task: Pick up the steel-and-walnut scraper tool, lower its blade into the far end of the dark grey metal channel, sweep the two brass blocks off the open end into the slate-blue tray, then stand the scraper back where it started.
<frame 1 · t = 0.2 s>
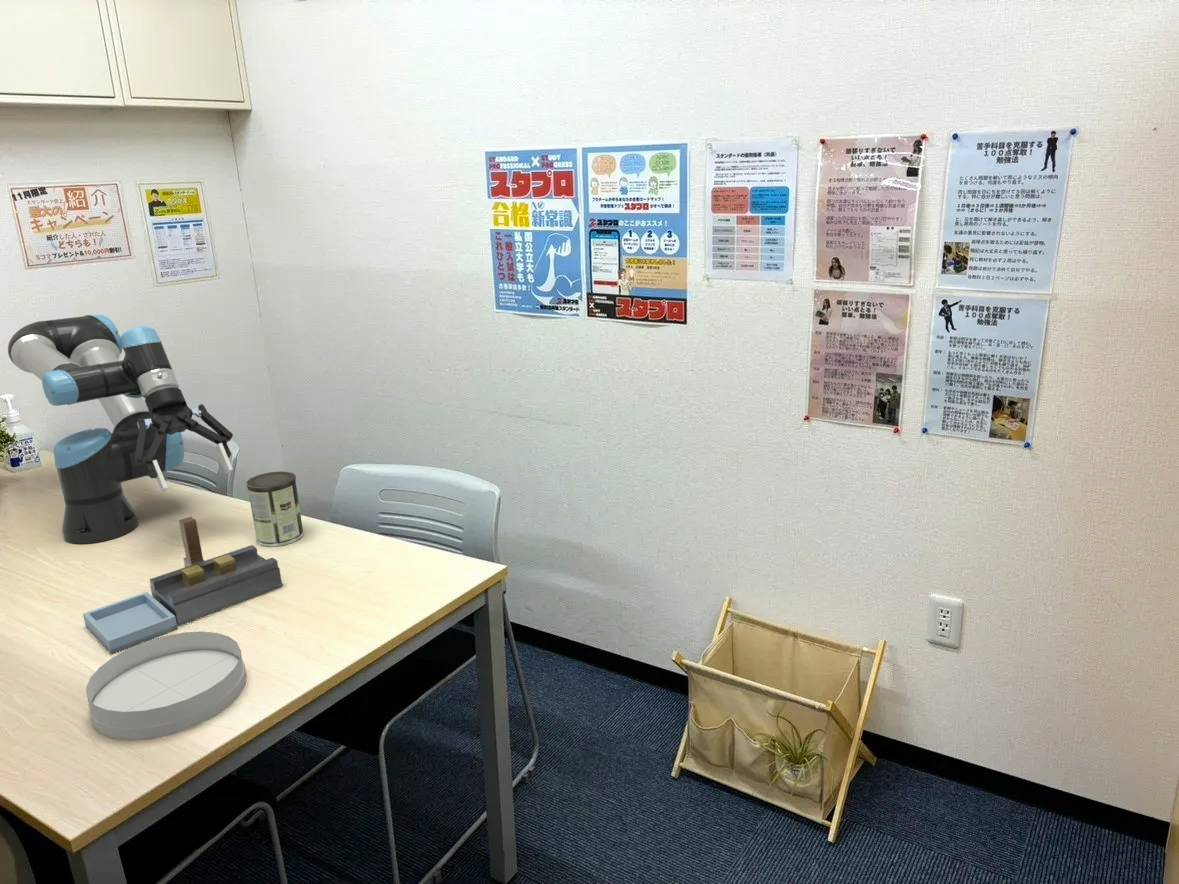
hand: (198, 480, 176), 16 cm above the table, fingers open, 13 cm apart
dish: (172, 696, 129), on the table
chip b: (226, 573, 160), point 4 cm above the table, touching slot bed
tray: (131, 627, 149), on the table
slot bed: (219, 595, 160), on the table
chip a: (194, 584, 156), point 4 cm above the table, touching slot bed
coffee can: (280, 538, 185), on the table
scraper: (197, 573, 169), on the table
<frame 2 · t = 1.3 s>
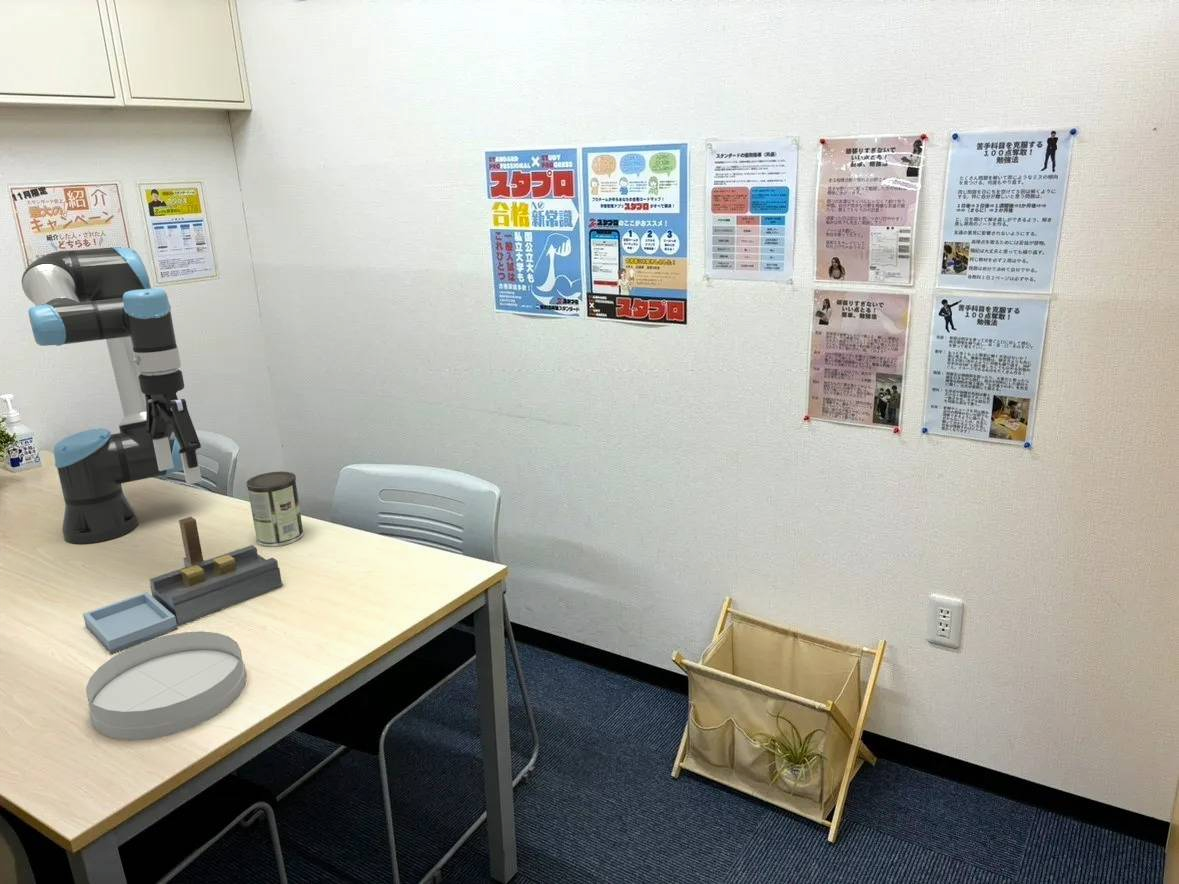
hand: (180, 475, 163), 21 cm above the table, fingers open, 13 cm apart
nothing on the table moved.
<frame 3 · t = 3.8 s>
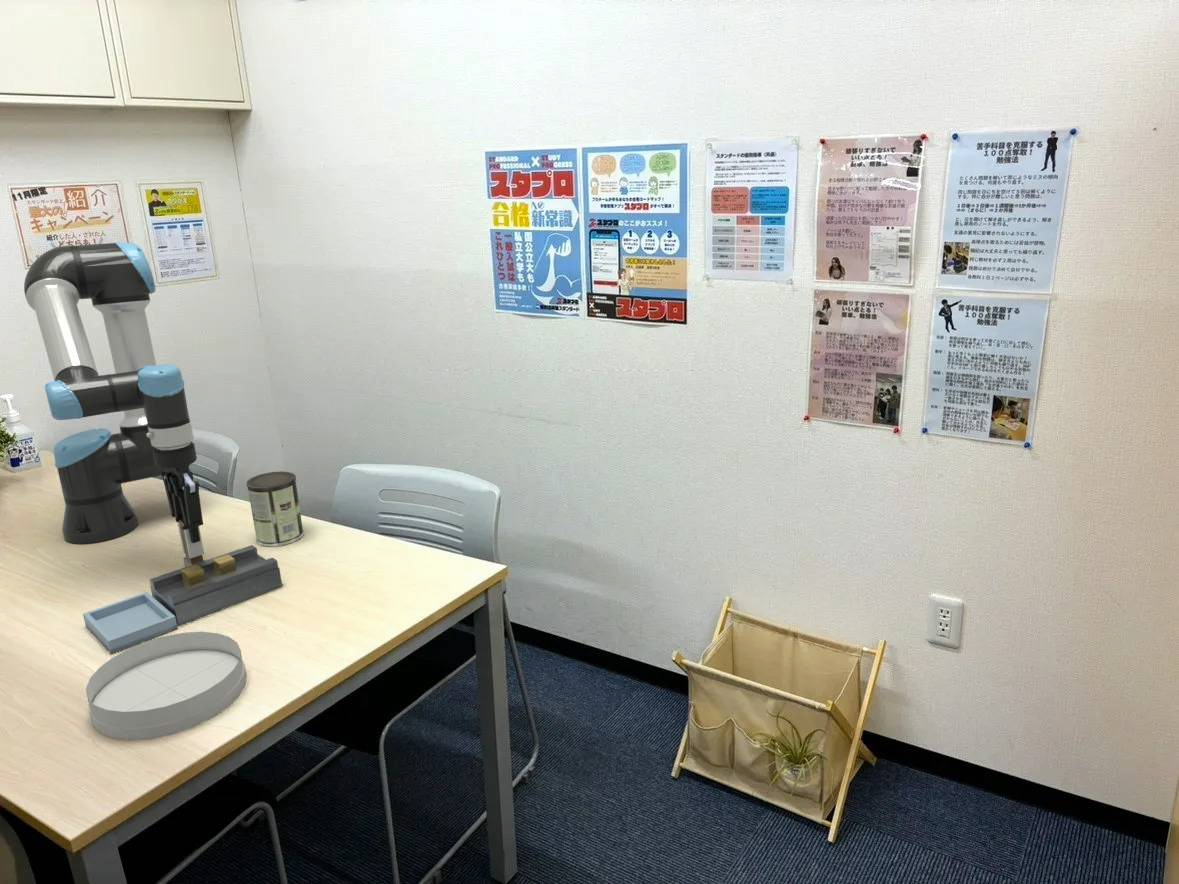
hand: (193, 553, 167), 5 cm above the table, fingers closed on scraper, 2 cm apart
scraper: (197, 573, 169), on the table, touching gripper
everything else where it was.
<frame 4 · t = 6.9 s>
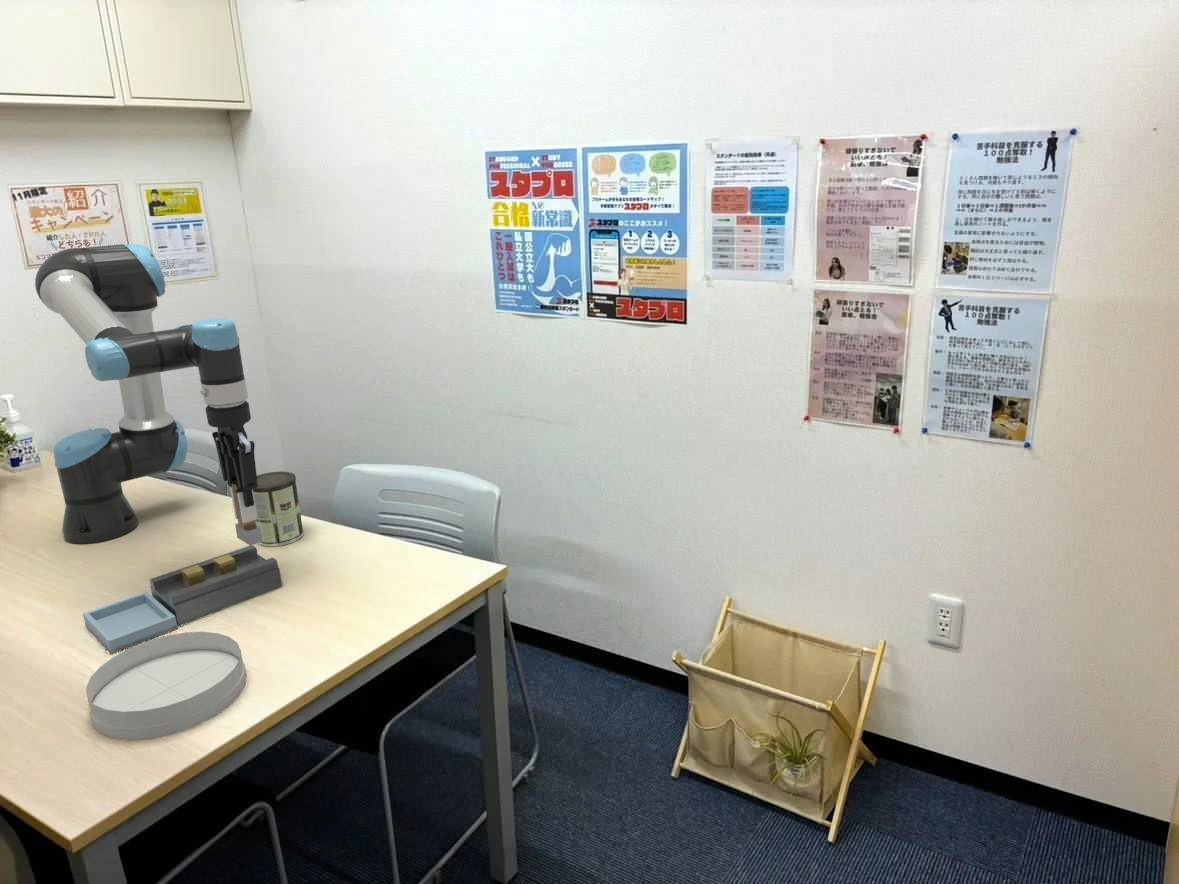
hand: (246, 518, 160), 14 cm above the table, fingers closed on scraper, 2 cm apart
scraper: (249, 539, 162), point 9 cm above the table, touching gripper
everything else where it was.
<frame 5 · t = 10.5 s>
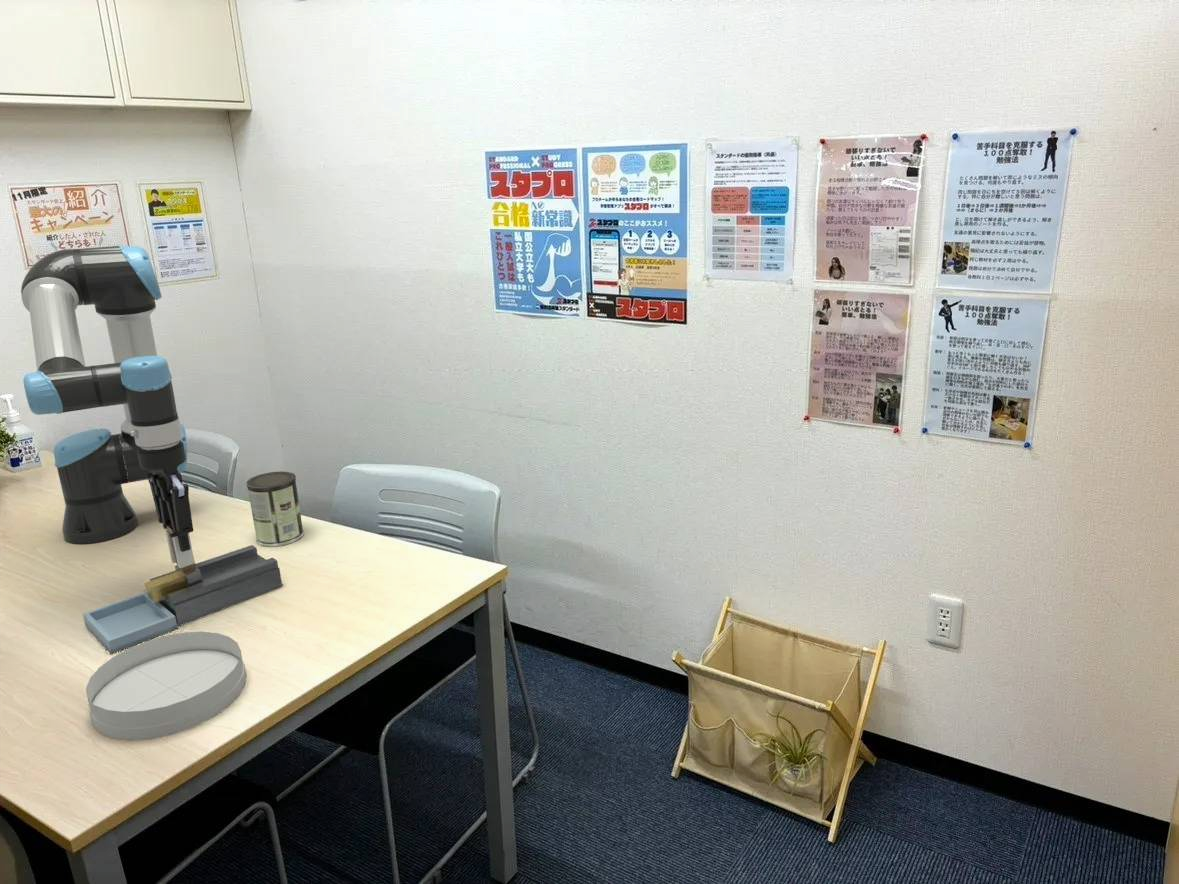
hand: (183, 562, 153), 9 cm above the table, fingers closed on scraper, 2 cm apart
chip b: (176, 590, 153), point 4 cm above the table, touching chip a, slot bed
chip a: (159, 596, 151), point 4 cm above the table, touching chip b, slot bed
scraper: (190, 582, 155), point 5 cm above the table, touching gripper
everything else where it was.
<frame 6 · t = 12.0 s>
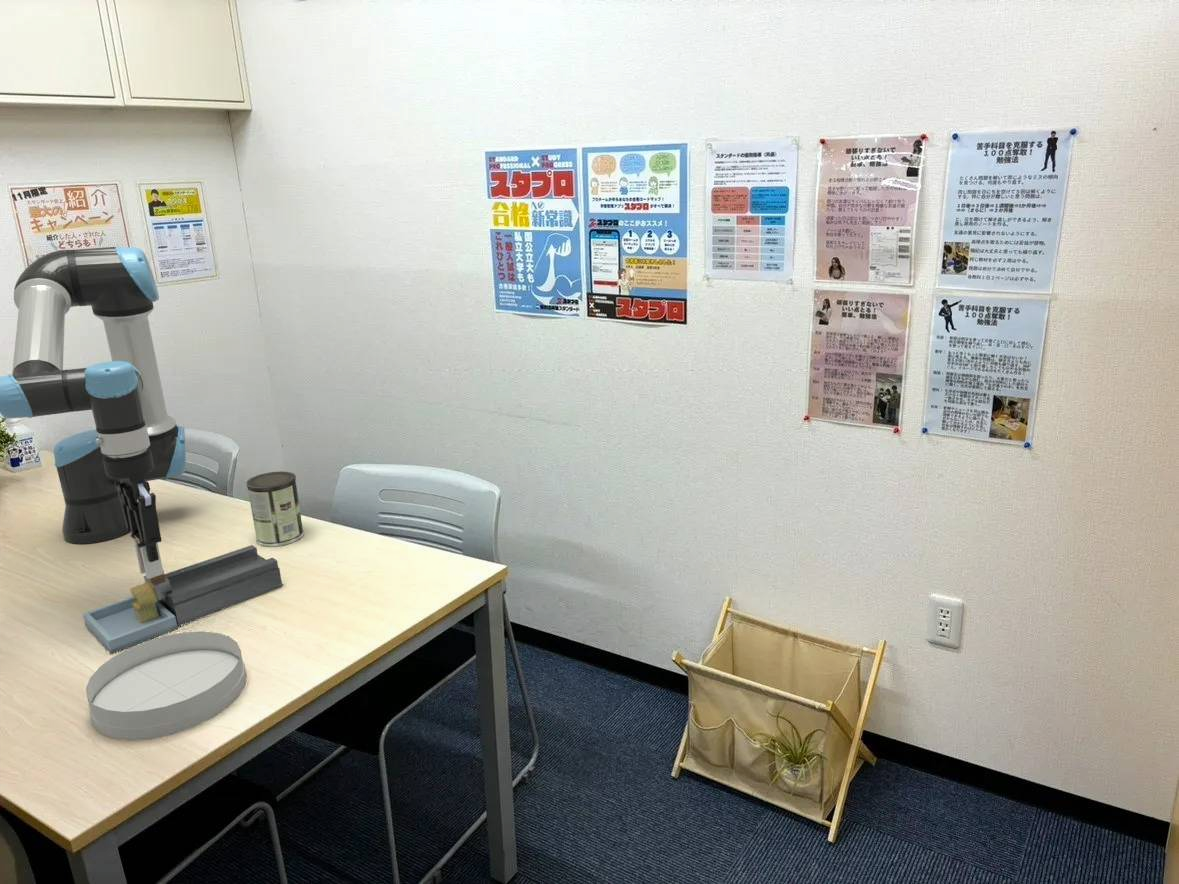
hand: (151, 572, 149), 9 cm above the table, fingers closed on scraper, 2 cm apart
chip b: (145, 602, 149), point 4 cm above the table, touching chip a, scraper
chip a: (154, 606, 151), point 2 cm above the table, tilted 93°, touching chip b, tray
scraper: (160, 592, 151), point 5 cm above the table, touching chip b, gripper
everything else where it was.
when the fingers open (6 cm above the table, at t = 18.0 s): scraper drops 1 cm, on the table.
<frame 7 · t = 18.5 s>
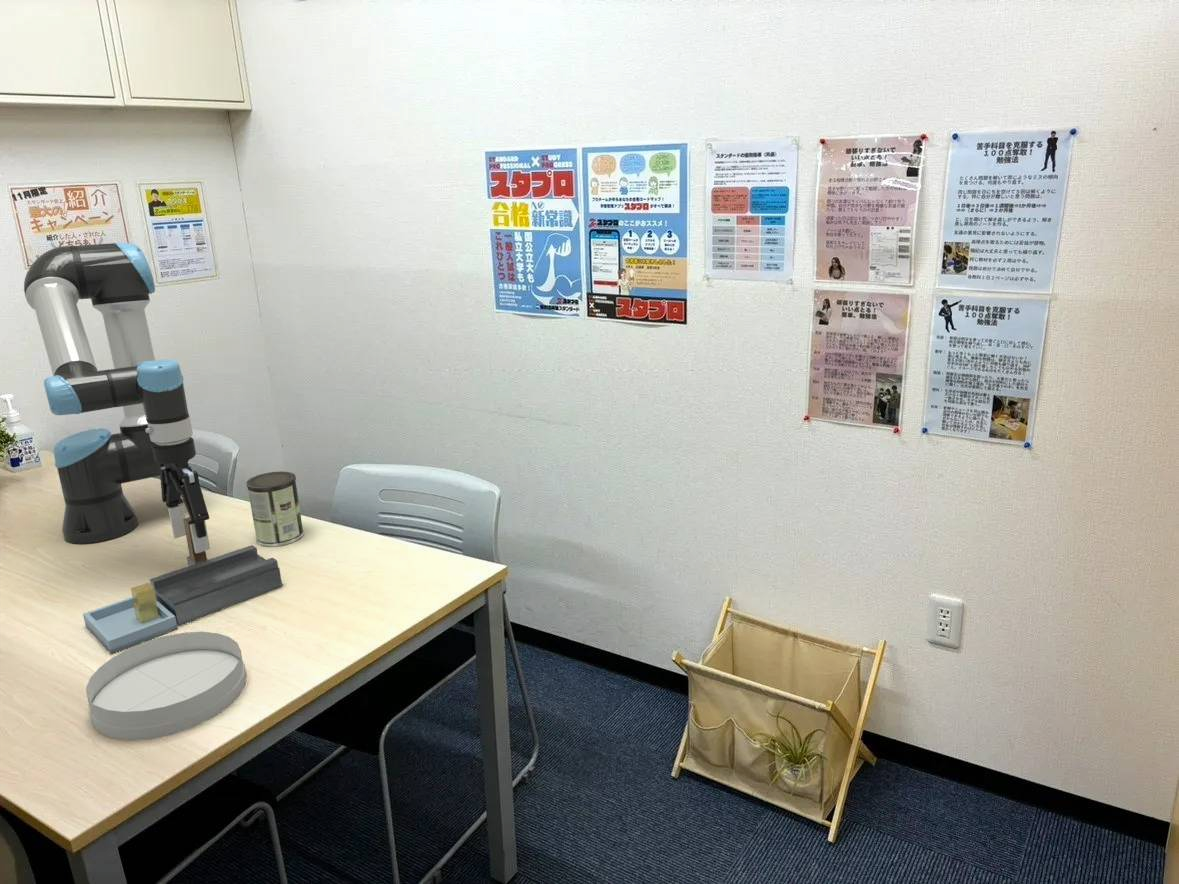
hand: (191, 543, 167), 7 cm above the table, fingers open, 10 cm apart
chip b: (145, 602, 149), point 4 cm above the table, touching chip a
scraper: (200, 572, 169), on the table
everything else where it was.
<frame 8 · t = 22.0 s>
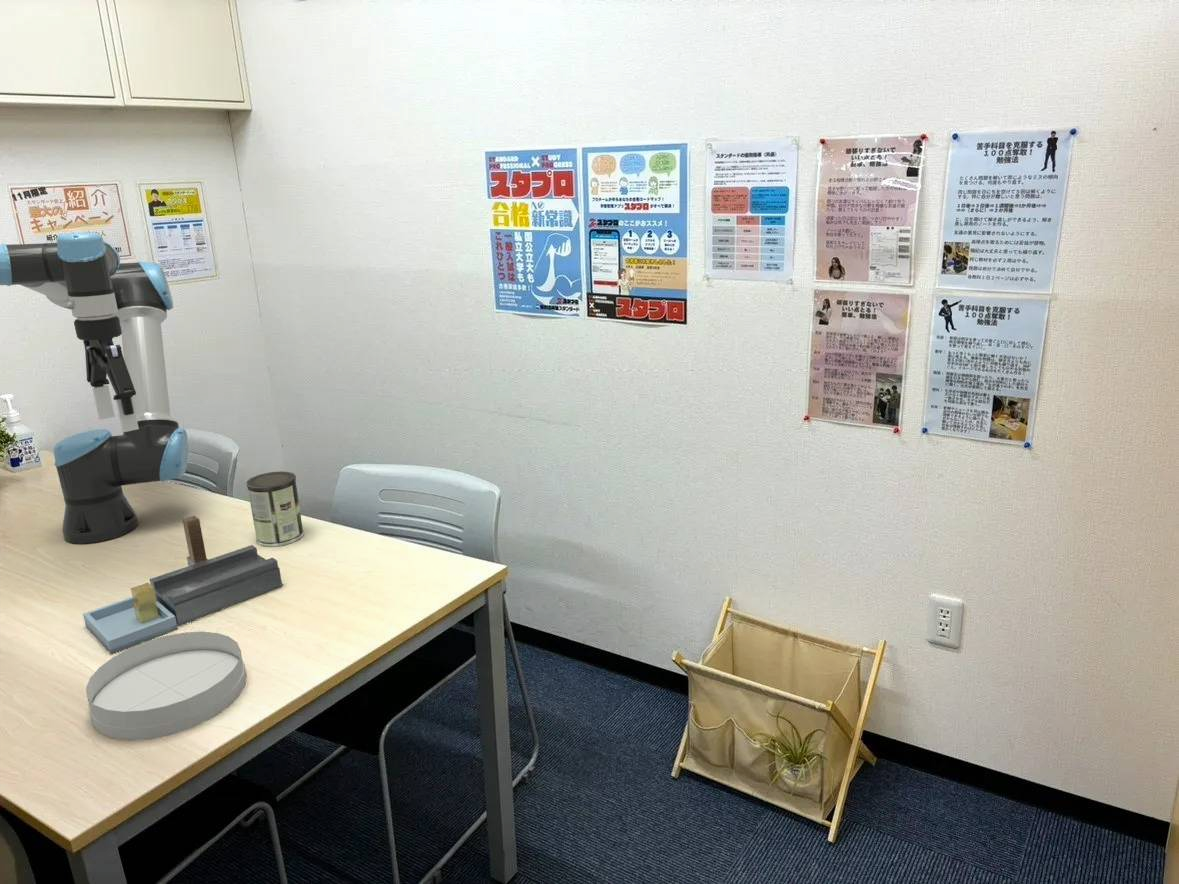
hand: (118, 424, 162), 32 cm above the table, fingers open, 13 cm apart
nothing on the table moved.
at the end: chip a inside the target area (4.7 cm from its centre), point 2.3 cm above the table; chip b inside the target area (3.4 cm from its centre), point 3.8 cm above the table; scraper inside the target area (0.7 cm from its centre), on the table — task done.
